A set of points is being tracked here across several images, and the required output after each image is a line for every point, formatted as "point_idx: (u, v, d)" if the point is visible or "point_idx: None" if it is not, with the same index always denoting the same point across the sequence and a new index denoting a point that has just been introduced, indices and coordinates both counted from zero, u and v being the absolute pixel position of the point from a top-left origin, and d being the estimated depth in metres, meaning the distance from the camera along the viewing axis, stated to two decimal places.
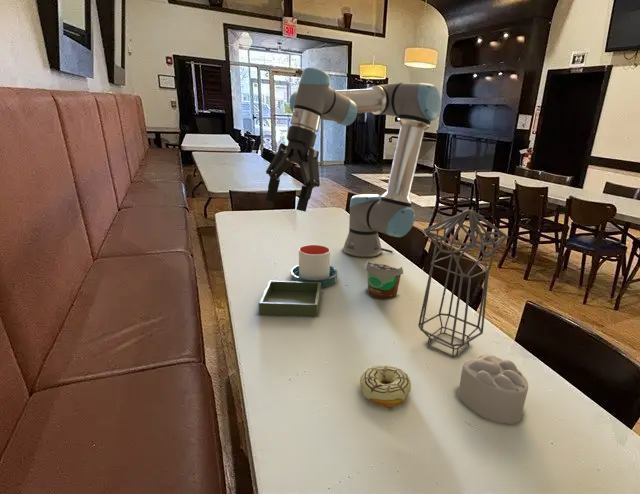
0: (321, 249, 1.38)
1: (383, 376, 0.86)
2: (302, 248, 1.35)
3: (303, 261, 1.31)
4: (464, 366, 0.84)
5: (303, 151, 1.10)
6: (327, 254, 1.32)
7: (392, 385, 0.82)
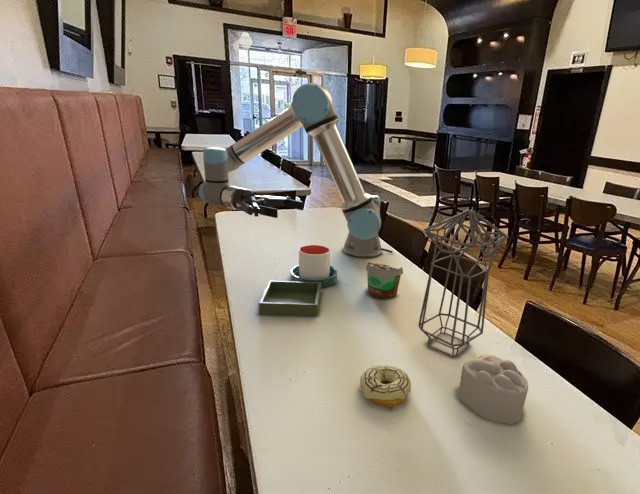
0: (321, 249, 1.38)
1: (383, 376, 0.86)
2: (302, 248, 1.35)
3: (303, 261, 1.31)
4: (464, 366, 0.84)
5: None
6: (327, 254, 1.32)
7: (392, 385, 0.82)
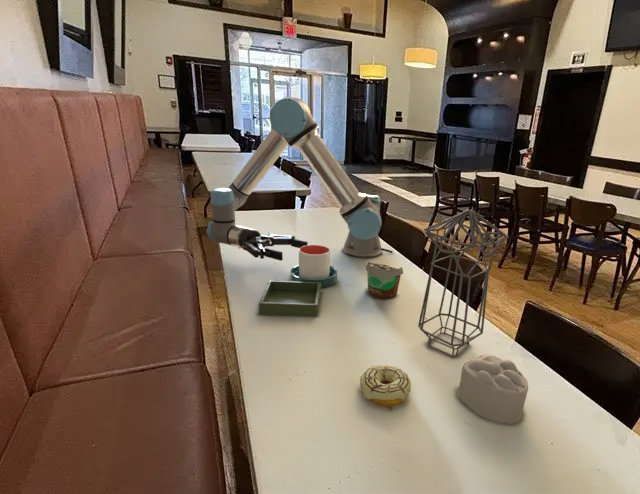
0: (321, 249, 1.38)
1: (383, 376, 0.86)
2: (302, 248, 1.35)
3: (303, 261, 1.31)
4: (464, 366, 0.84)
5: None
6: (327, 254, 1.32)
7: (392, 385, 0.82)
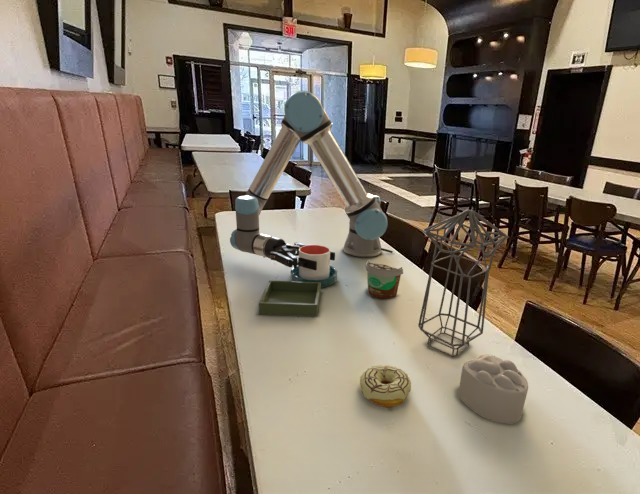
0: (321, 249, 1.38)
1: (383, 376, 0.86)
2: (302, 248, 1.35)
3: None
4: (464, 366, 0.84)
5: None
6: (327, 254, 1.32)
7: (392, 385, 0.82)
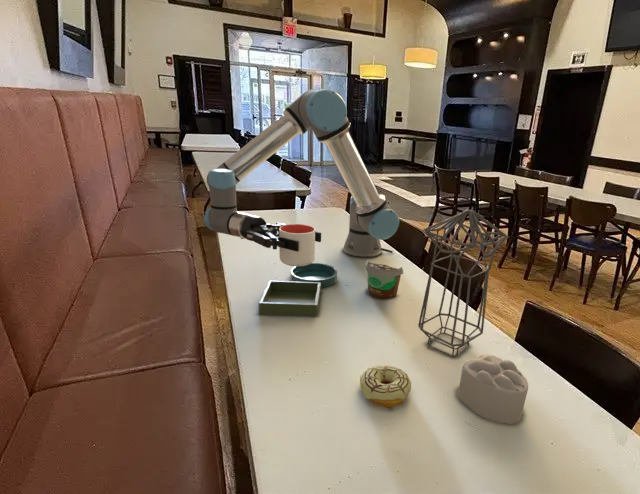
0: (305, 229, 1.21)
1: (383, 376, 0.86)
2: (283, 227, 1.19)
3: None
4: (464, 366, 0.84)
5: None
6: (311, 233, 1.15)
7: (392, 385, 0.82)
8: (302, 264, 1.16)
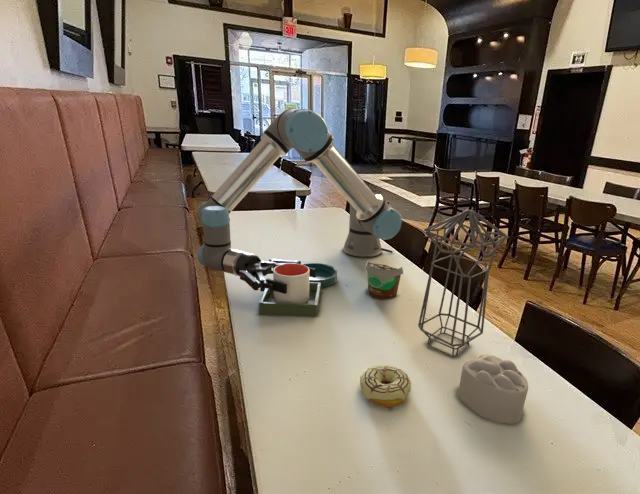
0: (300, 268, 1.21)
1: (383, 376, 0.86)
2: (277, 267, 1.18)
3: None
4: (464, 366, 0.84)
5: None
6: (305, 275, 1.15)
7: (392, 385, 0.82)
8: None
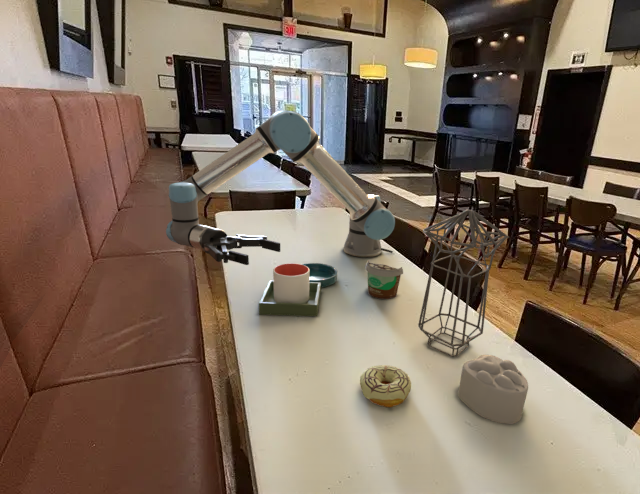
0: (300, 268, 1.21)
1: (383, 376, 0.86)
2: (277, 267, 1.18)
3: (278, 283, 1.14)
4: (464, 366, 0.84)
5: None
6: (305, 275, 1.15)
7: (392, 385, 0.82)
8: None
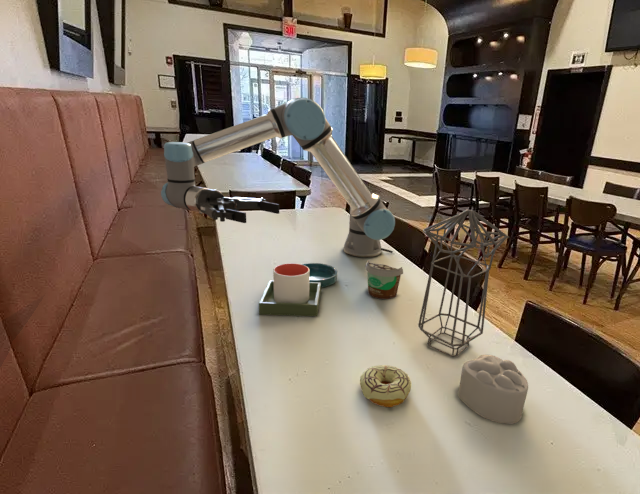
0: (300, 268, 1.21)
1: (383, 376, 0.86)
2: (277, 267, 1.18)
3: (278, 283, 1.14)
4: (464, 366, 0.84)
5: None
6: (305, 275, 1.15)
7: (392, 385, 0.82)
8: None
